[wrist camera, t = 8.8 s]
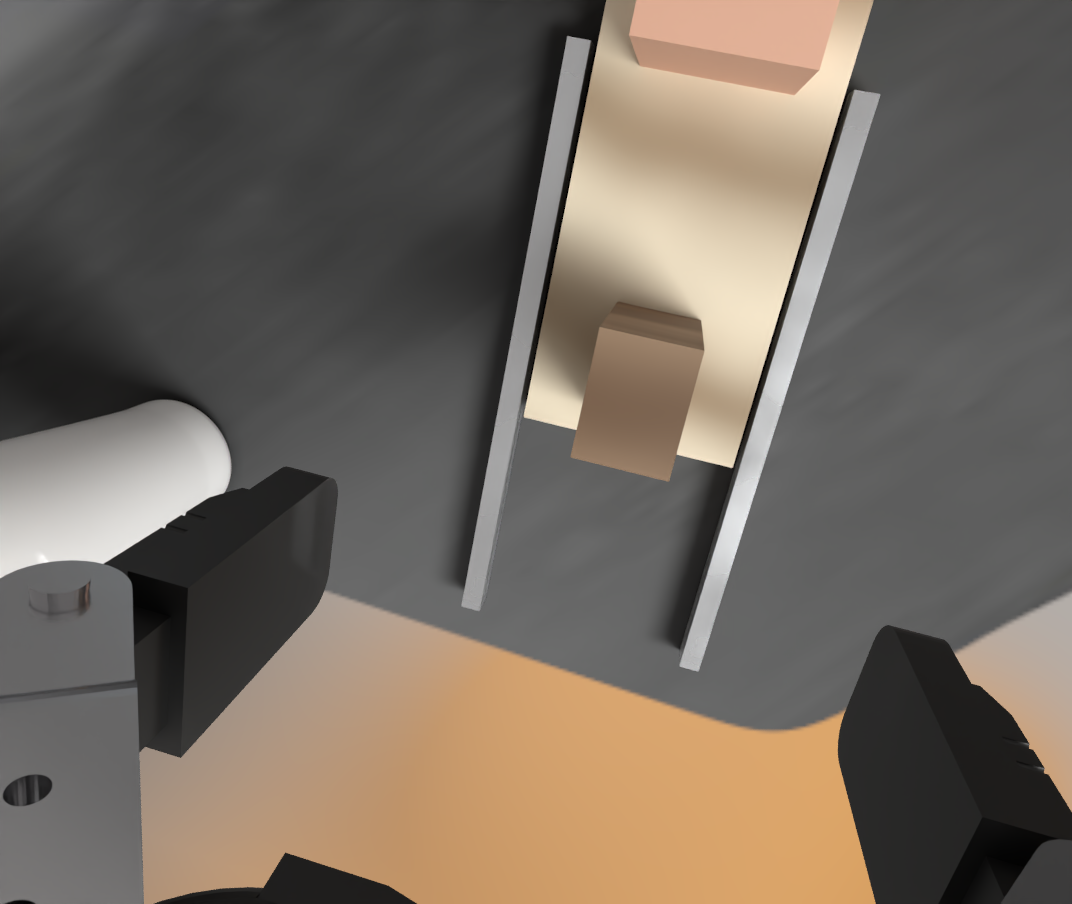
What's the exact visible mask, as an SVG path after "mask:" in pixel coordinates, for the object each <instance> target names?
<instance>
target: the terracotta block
mask: <svg viewBox="0 0 1072 904" xmlns="http://www.w3.org/2000/svg"><path fill="white" fill-rule="evenodd" d="M839 1H840V0H636V4H635V9H634V14H633V18H632V23H631V28H630V33H629V37H630V39H631V42H632V45H633V48H634V51H635V54H636V56H637V59H638V62H639V65H640V66H642V67H647V68H652V69H658V70H663V71H668V72H673V73H679V74H684V75H689V76H695V77H700V78H705V79H711V80H716V81H721V82H726V83H732V84H737V85H742V86H748V87H753V88H758V89H763V90H769V91H774V92H779V93H785V94H790V95H795V94H796V93H797V92H798V91H799V90H800V89H801V88H802V87H803V86H804V85H805V84H806V83H807V82H808V81H809V80H810V79H811V78H812V77H813V76H814V75H815V74H816V73H817V72H818V71H819V70H820V67H821V63H822V60H823V56H824V53H825V49H826V46H827V42H828V39H829V35H830V32H831V29H832V25H833V22H834V18H835V15H836V11H837V8H838V4H839Z"/></svg>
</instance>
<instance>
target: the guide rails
mask: <svg viewBox="0 0 1072 904" xmlns="http://www.w3.org/2000/svg"><path fill="white" fill-rule="evenodd" d="M594 50H595V46H594V45H593V43H592V41H591V40H586V39H581V38H575V37H570V36H567V41H566V46H565V52H564V57H563V62H562V68H561V73H560V78H559V84H558V89H557V95H556V100H555V105H554V111H553V116H552V121H551V127H550V132H549V138H548V143H547V148H546V154H545V159H544V165H543V170H542V175H541V181H540V186H539V191H538V197H537V202H536V208H535V213H534V218H533V224H532V229H531V234H530V240H529V245H528V251H527V256H526V261H525V267H524V272H523V278H522V283H521V288H520V294H519V299H518V304H517V310H516V315H515V321H514V326H513V331H512V337H511V342H510V348H509V353H508V358H507V364H506V369H505V374H504V380H503V385H502V391H501V396H500V401H499V407H498V412H497V417H496V423H495V428H494V434H493V439H492V444H491V450H490V455H489V461H488V466H487V471H486V477H485V482H484V487H483V493H482V498H481V504H480V509H479V514H478V520H477V525H476V530H475V536H474V541H473V547H472V552H471V557H470V563H469V568H468V574H467V579H466V584H465V590H464V595H463V600H462V607H465V608H469V609H473V610H476V611H480V609H481V607H482V605H483V603H484V601H485V599H486V597H487V592H488V587H489V581H490V576H491V571H492V566H493V561H494V556H495V551H496V546H497V541H498V536H499V531H500V526H501V521H502V516H503V511H504V506H505V500H506V495H507V490H508V485H509V480H510V475H511V470H512V465H513V460H514V455H515V450H516V445H517V440H518V435H519V430H520V425H521V419H522V414H523V409H524V404H525V399H526V394H527V389H528V384H529V379H530V374H531V369H532V364H533V359H534V354H535V349H536V344H537V338H538V333H539V328H540V323H541V318H542V313H543V308H544V303H545V298H546V293H547V288H548V283H549V278H550V273H551V268H552V262H553V257H554V252H555V247H556V242H557V237H558V232H559V227H560V222H561V217H562V212H563V207H564V202H565V197H566V192H567V187H568V181H569V176H570V171H571V166H572V161H573V156H574V151H575V146H576V141H577V136H578V131H579V126H580V121H581V116H582V111H583V106H584V100H585V95H586V90H587V85H588V80H589V75H590V70H591V65H592V60H593V55H594ZM879 97H880V94H876V93H870V92H865V91H860V90H853V91H852V92H851V93H849V94H848V95H847V98H846V101H845V105H844V108H843V111H842V115H841V118H840V121H839V124H838V128H837V131H836V134H835V138H834V141H833V144H832V148H831V151H830V154H829V158H828V161H827V164H826V167H825V171H824V174H823V177H822V181H821V184H820V187H819V191H818V194H817V197H816V201H815V204H814V207H813V210H812V214H811V217H810V220H809V224H808V227H807V230H806V234H805V237H804V240H803V244H802V247H801V250H800V253H799V257H798V260H797V263H796V267H795V270H794V273H793V277H792V280H791V283H790V287H789V290H788V293H787V296H786V300H785V303H784V306H783V310H782V313H781V316H780V320H779V323H778V326H777V330H776V333H775V336H774V339H773V343H772V346H771V349H770V353H769V356H768V359H767V363H766V366H765V369H764V373H763V376H762V379H761V383H760V386H759V389H758V392H757V396H756V399H755V402H754V406H753V409H752V412H751V416H750V419H749V422H748V426H747V429H746V432H745V435H744V439H743V442H742V445H741V449H740V452H739V455H738V459H737V462H736V465H735V469H734V472H733V475H732V478H731V482H730V485H729V488H728V492H727V495H726V498H725V502H724V505H723V508H722V512H721V515H720V518H719V521H718V525H717V528H716V531H715V535H714V538H713V541H712V545H711V548H710V551H709V555H708V558H707V561H706V564H705V568H704V571H703V574H702V578H701V581H700V584H699V588H698V591H697V594H696V598H695V601H694V604H693V607H692V611H691V614H690V617H689V621H688V624H687V627H686V631H685V634H684V637H683V641H682V644H681V647H680V650H679V666H680V667H683V668H687V669H691V670H694V671H699V668H700V665H701V662H702V659H703V655H704V652H705V649H706V646H707V643H708V640H709V636H710V633H711V630H712V627H713V624H714V620H715V617H716V614H717V611H718V608H719V605H720V601H721V598H722V595H723V592H724V589H725V586H726V582H727V579H728V576H729V573H730V570H731V567H732V563H733V560H734V557H735V554H736V551H737V548H738V544H739V541H740V538H741V535H742V532H743V529H744V525H745V522H746V519H747V516H748V513H749V510H750V506H751V503H752V500H753V497H754V494H755V490H756V487H757V484H758V481H759V478H760V475H761V471H762V468H763V465H764V462H765V459H766V456H767V452H768V449H769V446H770V443H771V440H772V437H773V433H774V430H775V427H776V424H777V421H778V418H779V414H780V411H781V408H782V405H783V402H784V399H785V395H786V392H787V389H788V386H789V383H790V380H791V376H792V373H793V370H794V367H795V364H796V360H797V357H798V354H799V351H800V348H801V345H802V341H803V338H804V335H805V332H806V329H807V326H808V322H809V319H810V316H811V313H812V310H813V307H814V303H815V300H816V297H817V294H818V291H819V288H820V284H821V281H822V278H823V275H824V272H825V269H826V265H827V262H828V259H829V256H830V253H831V250H832V246H833V243H834V240H835V237H836V234H837V230H838V227H839V224H840V221H841V218H842V215H843V211H844V208H845V205H846V202H847V199H848V196H849V192H850V189H851V186H852V183H853V180H854V177H855V173H856V170H857V167H858V164H859V161H860V158H861V154H862V151H863V148H864V145H865V142H866V139H867V135H868V132H869V129H870V126H871V123H872V120H873V116H874V113H875V110H876V107H877V104H878V100H879Z"/></svg>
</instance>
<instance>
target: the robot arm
mask: <svg viewBox="0 0 1072 904" xmlns="http://www.w3.org/2000/svg"><path fill="white" fill-rule="evenodd" d="M337 497H338V489H337V484H336V481H335V480H334V479H333V478H329V477H325V476H321V475H317V474H314V473H310V472H306V471H302V470H298V469H294V468H291V467H283V468H281V469H279V470H278V471H276V472H275V473H273V474H272V475H270V476H269V477H267V478H266V479H264V480H263V481H261V482H260V483H258V484H257V485H255V486H254V487H252V488H251V489H245V488H241V489H237V490H234V491H230V492H226V493H223V494H219V495H216V496H212V497H209V498H207V499H206V500H204V501H203V502H201V503H200V504H198V505H196V506H195V507H193V508H192V509H190V510H188V511H187V512H186V514H185V516H183V515H180V516H179V517H177V518H176V519H174V520H172V521H171V522H169V523H168V524H166V527H165V528H160V529H158V530H156V531H155V532H153V533H152V534H150V535H149V536H147V537H145V538H144V539H142V540H141V541H139V542H137V543H136V544H134V545H133V546H131V547H129V548H128V549H126V550H125V551H123V552H121V553H120V554H118V555H117V556H115V557H113V558H112V559H110V560H109V561H107V562H105V563H104V564H101V563H97V562H90V561H78V560H67V561H53V562H46V563H40V564H36V565H32V566H28V567H25V568H22V569H19V570H16V571H14V572H11V573H9V574H7V575H5V576H3V577H2V578H0V904H144V895H143V894H144V893H143V861H142V826H141V793H140V761H139V752H140V751H141V750H142V749H143V748H144V747H148V748H151V749H155V750H158V751H161V752H164V753H167V754H170V755H174V756H177V757H180V758H181V757H182V756H183V755H184V754H185V752H186V751H187V750H188V749H189V748H190V747H191V746H192V745H193V744H194V743H195V742H196V740H197V739H198V738H199V737H200V736H201V735H202V734H203V733H204V732H205V730H206V729H207V728H208V727H209V726H210V725H211V724H212V723H213V722H214V721H215V719H216V718H217V717H218V716H219V715H220V714H221V713H222V712H223V711H224V709H225V708H226V707H227V706H228V705H229V704H230V703H231V702H232V700H234V698H235V697H236V696H237V695H238V694H239V693H240V692H241V691H242V690H243V689H244V687H245V686H246V685H247V684H248V683H249V682H250V681H251V680H252V679H253V678H254V676H255V675H256V674H257V673H258V672H259V671H260V670H261V668H262V667H263V666H264V665H265V664H266V663H267V662H268V661H269V660H270V659H271V658H272V656H273V655H274V654H275V653H276V652H277V651H278V650H279V649H280V648H281V647H282V646H283V644H284V643H285V642H286V641H287V640H288V639H289V638H290V637H291V636H292V634H293V633H294V632H295V631H296V630H297V629H298V628H299V627H300V626H301V625H302V623H303V622H304V621H305V620H306V619H307V618H308V617H309V616H310V615H311V614H312V612H313V611H314V609H315V608H316V607H317V605H318V603H319V601H320V599H321V597H322V595H323V592H324V590H325V587H326V583H327V580H328V575H329V568H330V559H331V550H332V542H333V533H334V524H335V515H336V507H337ZM838 758H839V764H840V768H841V772H842V776H843V779H844V784H845V787H846V791H847V795H848V799H849V802H850V806H851V810H852V814H853V818H854V822H855V825H856V829H857V833H858V837H859V841H860V845H861V849H862V852H863V856H864V860H865V864H866V868H867V871H868V875H869V879H870V883H871V887H872V891H873V894H874V898H875V902H876V904H1072V812H1071V810H1070V809H1069V807H1068V806H1067V804H1066V802H1065V801H1064V799H1063V798H1062V796H1061V794H1060V793H1059V791H1058V789H1057V788H1056V786H1055V785H1054V783H1053V781H1052V780H1051V778H1050V776H1049V775H1047V774H1044V767H1043V765H1042V763H1041V762H1040V760H1039V759H1038V757H1037V755H1036V754H1035V752H1034V751H1033V750H1031V749H1029V743H1028V741H1027V739H1026V738H1025V736H1024V734H1023V733H1022V731H1021V730H1020V728H1019V727H1018V725H1017V723H1016V721H1015V720H1014V718H1013V717H1012V715H1011V714H1010V713H1009V712H1008V711H1007V710H1006V709H1004V708H1003V707H1002V706H1001V705H1000V704H999V703H998V702H997V701H996V700H995V699H994V698H993V697H991V696H990V695H989V694H988V693H987V692H986V691H985V690H984V689H983V688H982V687H981V686H977V685H974V684H971V682H970V680H969V679H968V677H967V675H966V673H965V672H964V670H963V668H962V666H961V665H960V663H959V661H958V659H957V658H956V656H955V654H954V652H953V651H952V649H951V647H950V646H949V644H948V643H947V642H946V641H945V640H943V639H939V638H935V637H932V636H928V635H924V634H920V633H916V632H913V631H909V630H905V629H901V628H897V627H893V626H890V625H887V626H885V627H883V628H882V629H881V630H880V631H879V633H878V634H877V636H876V638H875V640H874V642H873V645H872V647H871V650H870V652H869V654H868V657H867V659H866V662H865V664H864V667H863V669H862V672H861V674H860V677H859V679H858V682H857V684H856V687H855V689H854V692H853V694H852V696H851V699H850V701H849V704H848V706H847V709H846V711H845V714H844V717H843V720H842V723H841V727H840V733H839V740H838ZM155 904H416V903H415V902H413V901H412V900H410V899H408V898H407V897H405V896H404V895H402V894H400V893H399V892H397V891H395V890H394V889H392V888H391V887H389V886H387V885H384V884H381V883H377V882H375V881H371V880H368V879H365V878H362V877H359V876H356V875H353V874H350V873H347V872H343V871H340V870H337V869H334V868H331V867H328V866H325V865H322V864H319V863H316V862H312V861H309V860H306V859H303V858H300V857H297V856H294V855H290V854H288V853H285V854H284V856H283V857H282V859H281V860H280V862H279V864H278V865H277V867H276V869H275V870H274V872H273V873H272V875H271V877H270V878H269V880H268V881H267V883H266V885H265V886H264V888H253V887H247V888H225V889H216V890H209V891H203V892H196V893H190V894H187V895H183V896H179V897H175V898H171V899H167V900H164V901H160V902H157V903H155Z"/></svg>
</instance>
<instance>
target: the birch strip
mask: <svg viewBox="0 0 1072 904" xmlns="http://www.w3.org/2000/svg"><path fill="white" fill-rule="evenodd" d="M635 4H636V0H606V4H605V9H604V14H603V19H602V24H601V30H600V35H599V40H598V45H597V50H596V55H595V60H594V65H593V70H592V75H591V80H590V85H589V90H588V95H587V100H586V105H585V110H584V115H583V120H582V125H581V130H580V135H579V140H578V146H577V151H576V156H575V161H574V166H573V171H572V176H571V181H570V186H569V191H568V196H567V201H566V206H565V211H564V216H563V221H562V226H561V231H560V236H559V241H558V246H557V251H556V256H555V262H554V267H553V272H552V277H551V282H550V287H549V292H548V297H547V302H546V307H545V312H544V317H543V322H542V327H541V332H540V337H539V342H538V347H537V352H536V357H535V362H534V367H533V373H532V378H531V383H530V388H529V393H528V398H527V403H526V408H525V413H524V417H525V418H530V419H534V420H538V421H542V422H546V423H550V424H554V425H558V426H562V427H566V428H570V429H575V430H576V435H575V439H574V444H573V448H572V453H571V457H572V458H576V459H580V460H584V461H588V462H592V463H596V464H600V465H604V466H608V467H612V468H616V469H620V470H624V471H628V472H632V473H636V474H640V475H644V476H648V477H652V478H656V479H660V480H664V481H668V482H669V479H670V476H671V472H672V468H673V465H674V461H675V457H676V454H677V455H681V456H685V457H689V458H693V459H697V460H701V461H705V462H710V463H714V464H718V465H722V466H726V467H730V468H733V465H734V462H735V458H736V455H737V452H738V449H739V445H740V442H741V439H742V435H743V432H744V429H745V425H746V422H747V419H748V415H749V412H750V409H751V405H752V402H753V399H754V395H755V392H756V389H757V385H758V382H759V379H760V375H761V372H762V369H763V366H764V362H765V359H766V356H767V352H768V349H769V346H770V342H771V339H772V336H773V332H774V329H775V326H776V322H777V319H778V316H779V312H780V309H781V306H782V302H783V299H784V296H785V293H786V289H787V286H788V283H789V279H790V276H791V273H792V269H793V266H794V263H795V259H796V256H797V253H798V249H799V246H800V243H801V239H802V236H803V233H804V229H805V226H806V223H807V220H808V216H809V213H810V210H811V206H812V203H813V200H814V196H815V193H816V190H817V186H818V183H819V180H820V176H821V173H822V170H823V166H824V163H825V160H826V156H827V153H828V150H829V146H830V143H831V140H832V137H833V133H834V130H835V127H836V123H837V120H838V117H839V113H840V110H841V107H842V103H843V100H844V97H845V93H846V90H847V87H848V83H849V80H850V77H851V73H852V70H853V67H854V64H855V60H856V57H857V54H858V50H859V47H860V44H861V40H862V37H863V34H864V30H865V27H866V24H867V20H868V17H869V14H870V10H871V7H872V4H873V0H840V1H839V4H838V8H837V11H836V15H835V18H834V22H833V25H832V29H831V32H830V35H829V39H828V42H827V46H826V49H825V53H824V56H823V60H822V63H821V67H820V70H819V71H818V72H817V73H816V74H815V75H814V76H813V77H812V78H811V79H810V80H809V81H808V82H807V83H806V84H805V85H804V86H803V87H802V88H801V89H800V90H799V91H798V92H797V93H796V94H795V95H790V94H785V93H779V92H774V91H769V90H763V89H758V88H753V87H748V86H742V85H737V84H732V83H726V82H721V81H716V80H711V79H705V78H700V77H695V76H689V75H684V74H679V73H673V72H668V71H663V70H658V69H652V68H647V67H642V66H640V65H639V62H638V59H637V56H636V54H635V51H634V48H633V45H632V42H631V39H630V37H629V33H630V28H631V23H632V18H633V14H634V9H635Z"/></svg>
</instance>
